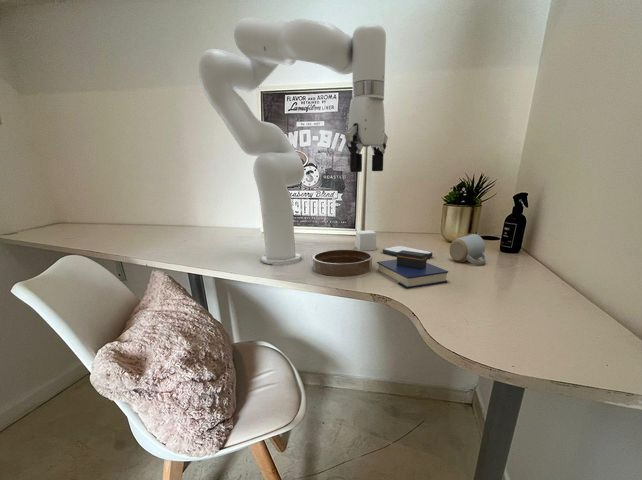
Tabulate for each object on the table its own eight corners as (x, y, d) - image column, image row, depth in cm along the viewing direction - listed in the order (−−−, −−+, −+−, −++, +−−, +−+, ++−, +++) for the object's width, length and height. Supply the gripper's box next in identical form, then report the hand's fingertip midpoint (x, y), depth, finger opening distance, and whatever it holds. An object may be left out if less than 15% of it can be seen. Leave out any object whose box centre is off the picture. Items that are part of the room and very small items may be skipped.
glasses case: (396, 265, 90) (397, 252, 88) (401, 263, 92) (402, 250, 91) (421, 269, 86) (422, 256, 84) (426, 267, 88) (427, 253, 86)
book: (376, 271, 95) (376, 261, 94) (412, 266, 99) (413, 257, 98) (406, 288, 81) (407, 277, 80) (447, 282, 85) (448, 271, 84)
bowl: (306, 265, 102) (305, 252, 100) (357, 259, 108) (357, 247, 106) (324, 281, 87) (323, 267, 86) (382, 273, 93) (383, 259, 91)
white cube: (359, 250, 119) (359, 233, 116) (355, 247, 124) (355, 230, 122) (376, 249, 120) (376, 232, 117) (371, 246, 125) (371, 230, 123)
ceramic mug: (446, 259, 105) (449, 235, 102) (463, 255, 109) (467, 232, 106) (473, 267, 97) (477, 241, 94) (491, 263, 101) (496, 238, 98)
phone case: (380, 253, 116) (415, 261, 104) (380, 248, 115) (415, 256, 103) (399, 249, 120) (434, 257, 108) (399, 245, 120) (434, 252, 107)
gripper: (374, 100, 88) (373, 171, 94) (332, 90, 75) (334, 172, 82) (400, 96, 83) (396, 170, 90) (360, 84, 71) (359, 172, 78)
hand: (367, 171), depth 86 cm, fingers open, 9 cm apart
